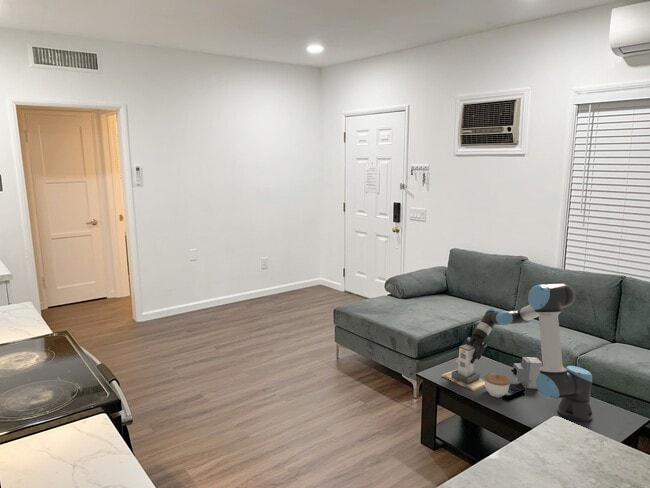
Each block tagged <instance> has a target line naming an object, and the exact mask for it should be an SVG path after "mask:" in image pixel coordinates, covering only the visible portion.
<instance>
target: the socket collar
mask: <svg viewBox="0 0 650 488" xmlns="http://www.w3.org/2000/svg"><path fill="white" fill-rule="evenodd" d="M454 370H455V371H454ZM454 370H451V371H452V375H451V377H452V378H454V379H456V380H458V381H460V382H463V383H465V384H470V383H473V382H475V381H478V380H480V379H481V377H480V376H481V374H480V373H479V372H476V371H473V375H471V376H469V377H465V376H463V375H461V374H459V373H458V370H456V369H454Z"/></svg>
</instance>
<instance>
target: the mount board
mask: <svg viewBox="0 0 650 488" xmlns="http://www.w3.org/2000/svg"><path fill="white" fill-rule="evenodd" d="M455 370H458V368H456V369H454V370H451V371H448V372H445V373H443V374H442V373H441V377H442V378H444V379H447V380H448V379H449V381H450V380H451V381H450V382H453V383H455V384H456V385H459V386H462V387H464V388H465V389H468V390H470V391H472V392H475V391H478V390H480V389H482V388H486V387H485V379H482V378H480V380H478V381H475V382H473V383H470V384H465V383H463V382H460V381H458V380H456V379H454V378H452V377H451V375H452V371H455ZM468 377H469V376H468Z"/></svg>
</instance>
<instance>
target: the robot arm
mask: <svg viewBox="0 0 650 488" xmlns="http://www.w3.org/2000/svg"><path fill="white" fill-rule="evenodd" d="M527 296H528V297H527V299H528V301H527V302H528V305H526V306H523V307H522V308H519V309H515V310H506V311H505V310H504V311H501V310H500V311H499V310H498V309H497V308H493V307H489V308H488V309H487V310H486V311H485V313H484V315H483V316H482V318H481V320H480V321H479V323H478V325H477V326H476V328H475V329H474V331H473V333H472V336H470V337H469V336H468V335H467V336H465V338H464V340H463V342H462V343H461V344H460V346H462V345H466V344H467V345H470V346H472V347H475V351H474V353H473V355H472V356H473V357H472V356H471V357H470V359H469V361H468V362H467V364H466V367H467V369H469V367H470V366H471V364H473V363H474V364H475V361H476V360H481V357H482V355H483V354H484V352H485V350H486V348H487V347H488V344H487V342H485V341H486V340H487V338H488V337H489V335H490V334H491V332H492V329H493V328H494V327H495V326H508V325H516V324H519V325H521V324H530V323H531V322H532V320H533V319H536V318H538V326H539V336H540V346H541V347H540V349H541V355H542V357H541V358H542V367H541V368H540V374H539V375H538V376H537V377H536V380H535V382H536V387H537V391H538V392H539V393H540V395H541V396H542V397H544V398H545V399H546V400H547V399H548V400H553V399H554V400H558V399H560V401H559V403H558V404H557V413H558V414H559V415H561V417H564V418H566V419H568V420H572V421H575V422H585V423H586V422H590V421H592V419H593V416H594V415H593V414H594V413H593V410H592V405H591V393H592V387H593V386H592V384H593V374H592V373H591V371H588V370H587V369H585V368H582V367H579V366H575V365H567V366H564V365H563V364H564V363H563V354H562V345H561V333H560V322H559V315H560V314H561V313H562V309H564V308H567V307H570V306H571V305H573V304H574V302H575V298H576V294H575V290H574V289H573V288H572V287H571V286H569V285H568V284H565V283H548V284H545V283H542V284H537V285H534V286H533V287H531V288H530V290H529V292H528V295H527ZM457 350H458V351H459V348H458V349H457ZM458 362H459V354H458V355H457V359H456V360H455V363H456V364H457V365H458Z"/></svg>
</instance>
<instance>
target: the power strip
mask: <svg viewBox="0 0 650 488" xmlns="http://www.w3.org/2000/svg"><path fill="white" fill-rule="evenodd" d="M461 345H462V344H461ZM461 345H459V347H458V349H459V350H458V355H459V362H458V364H457V369H458V373H459V374H461V375H463V376H465V377H468V376H471V375H473V371H474V369H475V362H474V363H473V364H471V366H470V367H469V369H467V367H466V364H467V362H468V361H469V359H470V357H471V356H472V355H473V353H474V351H475V346H470V345H467V344H466V345H462V346H461ZM472 357H473V356H472ZM474 372H475V371H474Z"/></svg>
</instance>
